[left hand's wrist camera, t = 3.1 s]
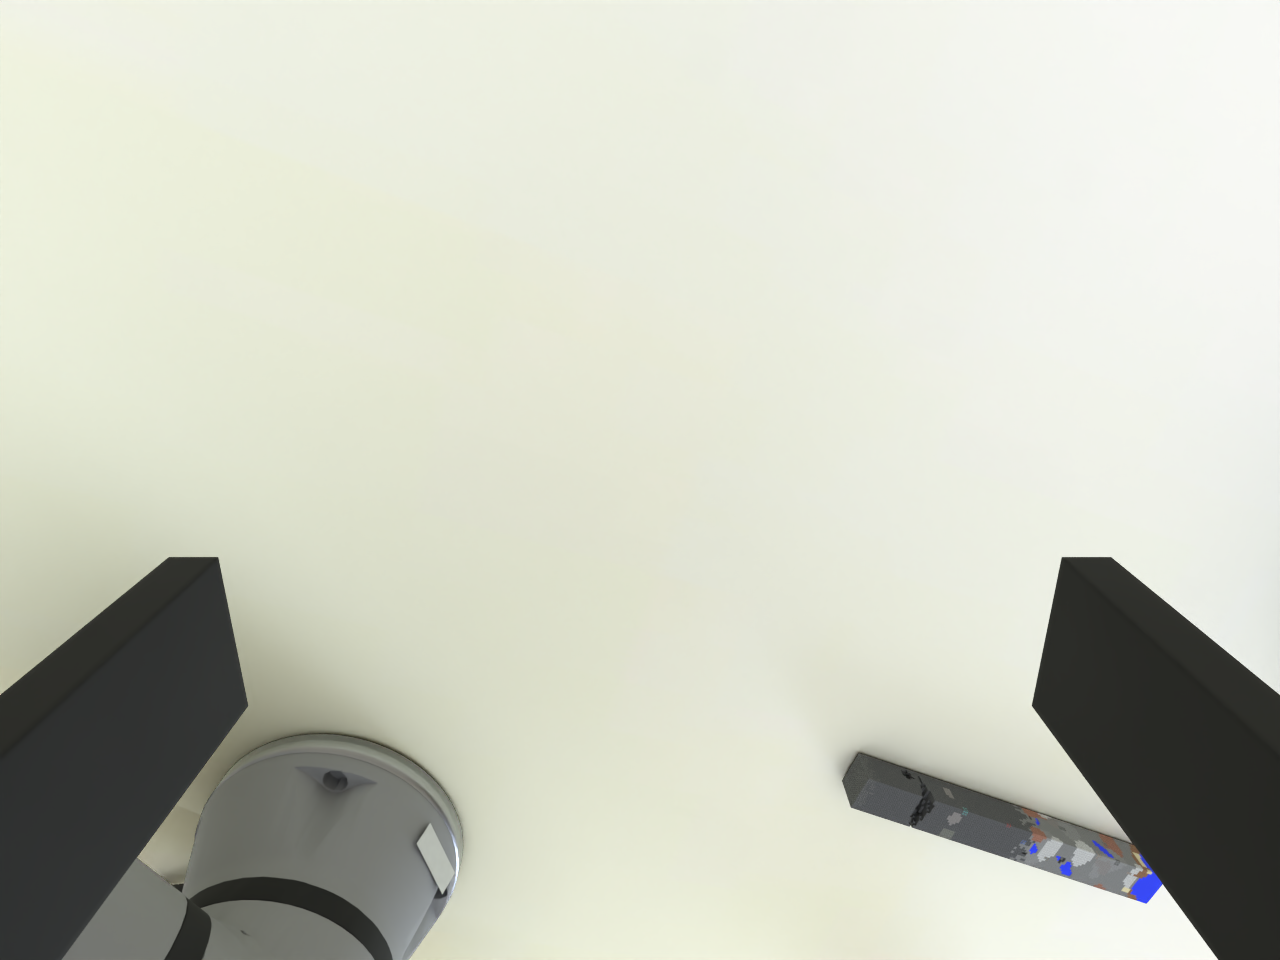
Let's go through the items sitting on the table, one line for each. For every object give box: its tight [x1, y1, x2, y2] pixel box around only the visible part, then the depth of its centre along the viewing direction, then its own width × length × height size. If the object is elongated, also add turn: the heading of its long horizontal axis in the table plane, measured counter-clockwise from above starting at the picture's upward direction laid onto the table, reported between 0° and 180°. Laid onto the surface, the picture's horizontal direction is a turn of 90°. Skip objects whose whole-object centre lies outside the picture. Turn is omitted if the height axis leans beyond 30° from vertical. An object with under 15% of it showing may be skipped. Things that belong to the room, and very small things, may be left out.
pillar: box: [842, 753, 1162, 903], centre depth 48 cm, size 2×2×20 cm
